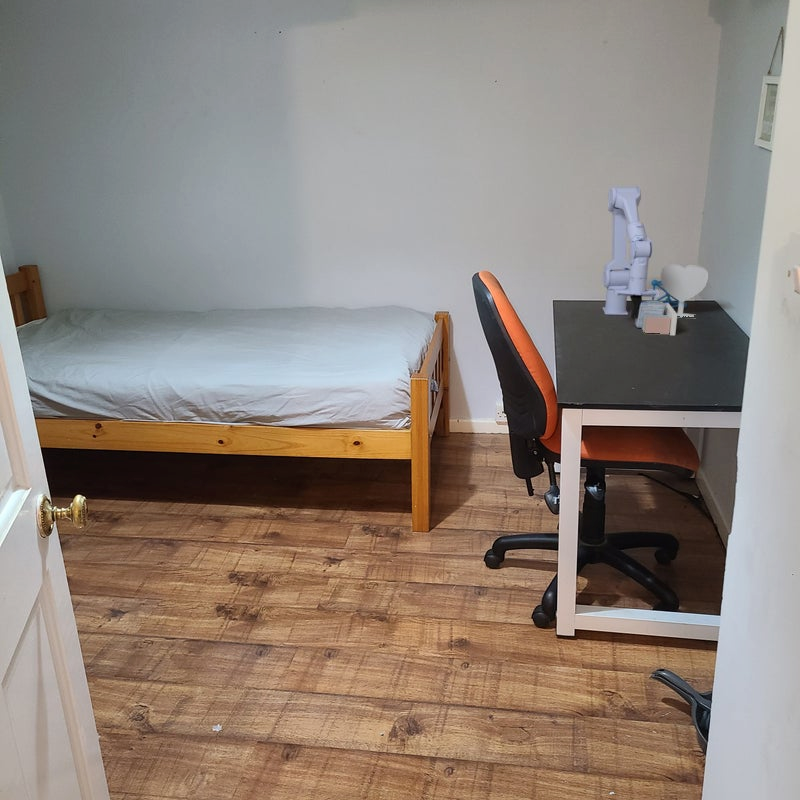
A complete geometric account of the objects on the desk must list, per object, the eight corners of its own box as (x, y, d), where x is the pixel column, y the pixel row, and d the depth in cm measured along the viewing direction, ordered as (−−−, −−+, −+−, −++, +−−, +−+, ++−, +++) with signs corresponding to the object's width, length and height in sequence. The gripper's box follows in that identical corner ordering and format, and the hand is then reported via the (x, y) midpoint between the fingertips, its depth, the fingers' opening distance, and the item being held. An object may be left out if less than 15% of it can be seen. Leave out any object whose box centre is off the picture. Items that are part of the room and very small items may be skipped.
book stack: (637, 321, 278) (639, 301, 276) (665, 322, 277) (667, 302, 275) (644, 334, 263) (646, 313, 260) (675, 335, 261) (677, 314, 259)
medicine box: (657, 325, 273) (661, 300, 270) (661, 329, 269) (665, 303, 266) (634, 324, 274) (638, 299, 271) (637, 327, 269) (641, 302, 266)
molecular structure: (668, 303, 304) (670, 276, 301) (687, 308, 296) (690, 281, 292) (647, 306, 300) (650, 279, 297) (667, 311, 292) (669, 284, 288)
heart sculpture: (702, 315, 286) (708, 264, 280) (703, 318, 281) (709, 267, 275) (657, 312, 290) (661, 262, 284) (657, 316, 286) (661, 265, 279)
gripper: (616, 279, 263) (613, 319, 268) (662, 280, 262) (658, 320, 266) (614, 275, 270) (611, 315, 274) (659, 276, 268) (655, 316, 273)
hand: (634, 317), depth 271 cm, fingers closed, pressing on medicine box
